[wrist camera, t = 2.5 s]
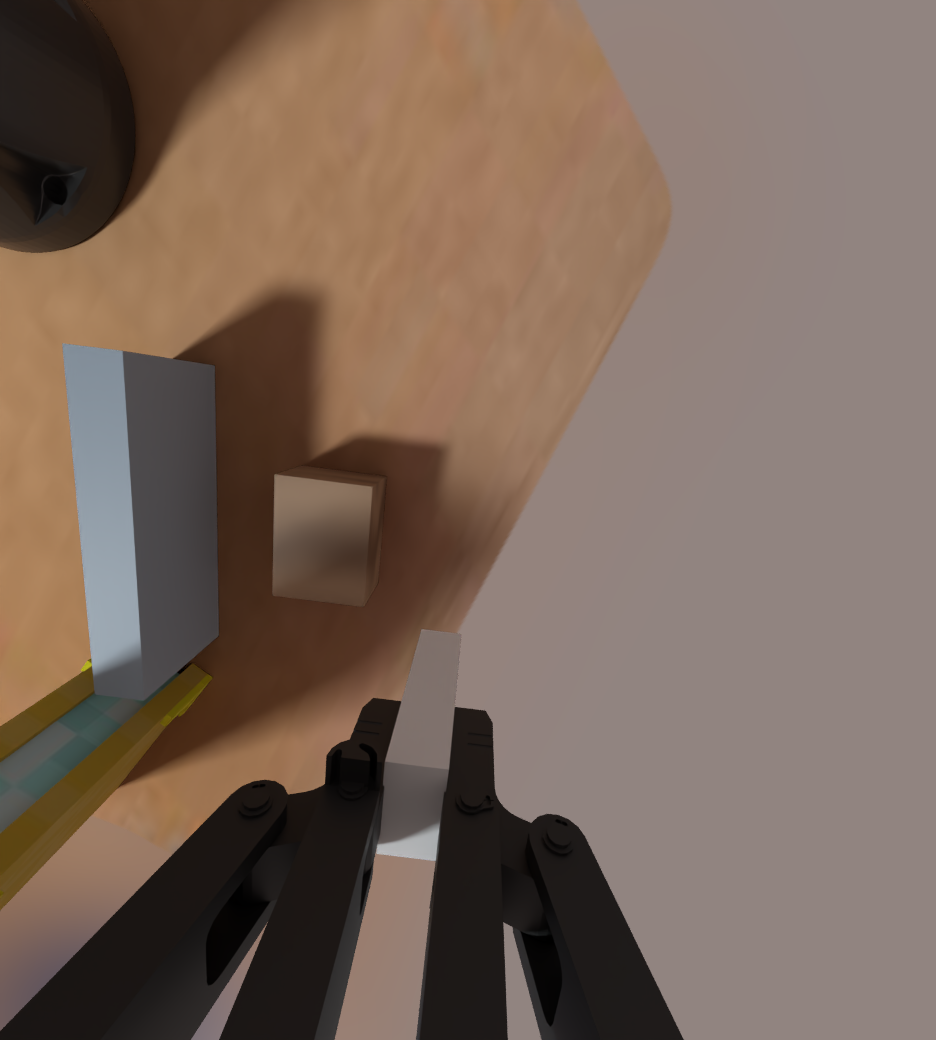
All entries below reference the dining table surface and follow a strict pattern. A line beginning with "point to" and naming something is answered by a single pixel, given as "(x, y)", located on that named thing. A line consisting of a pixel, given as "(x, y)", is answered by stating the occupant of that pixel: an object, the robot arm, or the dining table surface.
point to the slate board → (144, 512)
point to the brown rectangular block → (327, 534)
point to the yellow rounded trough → (73, 763)
